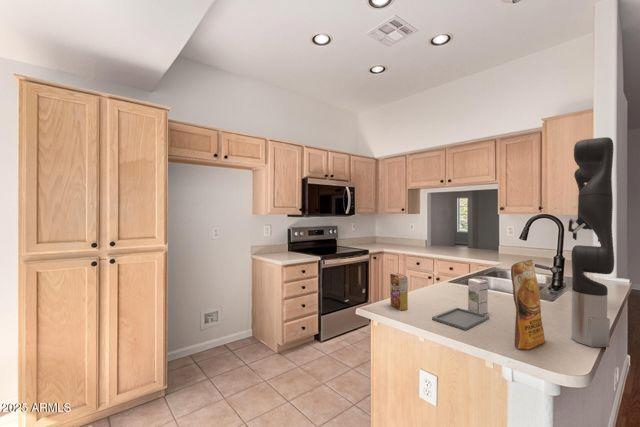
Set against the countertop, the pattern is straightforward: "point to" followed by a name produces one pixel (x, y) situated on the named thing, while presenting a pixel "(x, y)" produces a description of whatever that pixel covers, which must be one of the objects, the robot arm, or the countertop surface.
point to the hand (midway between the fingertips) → (587, 240)
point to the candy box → (399, 291)
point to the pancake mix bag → (527, 306)
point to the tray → (460, 318)
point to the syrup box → (478, 295)
